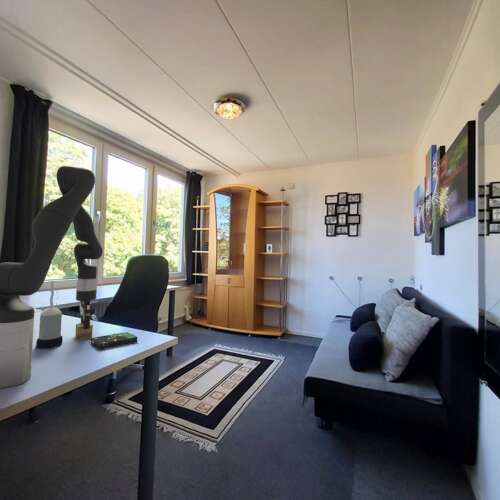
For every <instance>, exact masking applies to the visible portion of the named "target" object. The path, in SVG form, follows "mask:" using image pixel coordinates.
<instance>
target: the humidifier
mask: <svg viewBox="0 0 500 500" xmlns="http://www.w3.org/2000/svg"><path fill="white" fill-rule="evenodd" d="M54 284H55V283H54V280H51V282H50V298H49V307H47V308H46V309H44V310H42V311H41V313H40V317H39V329H38V338H36V343H35V349H38V350H49V349H56V348H58V347H60V346H62V345H63V341H64V340H63V338H64V337H63V336H62V335H61V334H62V317H63V315H62V311H61V309H59V308H57V306H58V303H56V306H54V301H53V299H54V295H55V291H54ZM58 286H59V285H57V287H56V291H58V290H59V289H58ZM58 298H59V294H58V293H57V297H56V299H58Z"/></svg>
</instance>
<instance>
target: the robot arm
mask: <svg viewBox="0 0 500 500" xmlns="http://www.w3.org/2000/svg"><path fill="white" fill-rule="evenodd" d="M56 183H57V185H58V188H59V191H60V193H61V196H60V197H58V198H56V199H54V200H52V201H50V202H49V203H47V204H45V205H44V206H43V207H42V208H41V209H40V211H39V212H38V213H37V215H36V217H35V218H34V220H33V221H32V224H31V233H32V240H33V249H32V251H31V253H30V254H29V257H28V258H27V259H26V261H25V262H9V261H8V262H0V389H3V388H7V387H13V386H17V385H22V384H24V383H25V382H26V381H27V380H29V379H30V378H31V374H32V356H33V340H34V339H33V337H34V325H35V322H34V320H35V308H34V307H32V306H31V305H29V304H27V303H25V302H24V301H22V299H21V297H23V296H25V297H26V296H32V295H34V294H36V293H37V292H38V291H39V290H40V288H41V287H42V286H43V285H44V282H45V280H46V277H47V275H48V273H49V270H50V267H51V264H52V262H53V261H54V257H55V255H56V253H57V251H58V249H59V247H60V245H61V244H62V241H63V239H64V238H65V236H66V234H67V233H68V231H69V230H70V227H71V225H73V229H74V230H73V231H74V235H75V237H76V239H77V240H78V241H80V242H78V243H77V244H75V245H74V248H73V255H74V257H75V258H74V259H75V261H76V266H77V279H76V280H77V281H76V291H75V293H76V295H75V300H76V301H78V302H80V305H79V313H80V323H84V326H83V328H84V329H89V328H90V322H91V320H92V318H93V317H92V315H93V314H92V313H93V304H92V303H91V302H92V301H95V300H97V292H98V291H97V289H98V282H97V281H98V279H97V277H98V276H97V275H98V274H97V273H98V267H97V265H95V264H90V263H88V262H87V261H86V260H98V259H100V258H102V256H103V252H104V251H103V246H102V244H101V242H100V241H99V239H98V237H97V235H96V231H95V225H94V222H93V221H94V220H93V218H92V216H91V215H90V214H89V213H88V211H87V210H86V209H85V208H84V206H83V204H84V203H85V202H86V200H87V199H88V197H89V195H90V194H91V193H92V192H93V189H94V187H95V185H96V184H95V183H96V176H95V173H94V172H93V170H90V169H88V168H85V167H77V166H71V165H61V166H60V167H58V169H57V172H56Z"/></svg>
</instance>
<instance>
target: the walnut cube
mask: <svg viewBox="0 0 500 500" xmlns="http://www.w3.org/2000/svg"><path fill="white" fill-rule="evenodd" d="M83 326H84V323H81V322H79V323H75V336H74V337H75V339H76V340H77V341H79V340H84V339H85V340H86V339H91V338H93V332H94V331H93V328H94V325H93V323H92V322H91V321H90V328H89V329H84V328H83Z"/></svg>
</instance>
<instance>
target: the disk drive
mask: <svg viewBox="0 0 500 500" xmlns="http://www.w3.org/2000/svg"><path fill="white" fill-rule="evenodd" d="M133 342H136V343H138V335H135V334H133V333H130V332H129V331H127V332H126V331H124V332H119V333H113V334H108V335H107V334H106V335H101V336H95V337H92V338H90V344H91V345H92V346H93V347H94V348H95V349H96V350H98V351H102V350H107V349H110V348H116V347H119V346H120V347H121V346H124V345H125V346H126V345H129V343H131V344H134V343H133Z"/></svg>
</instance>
